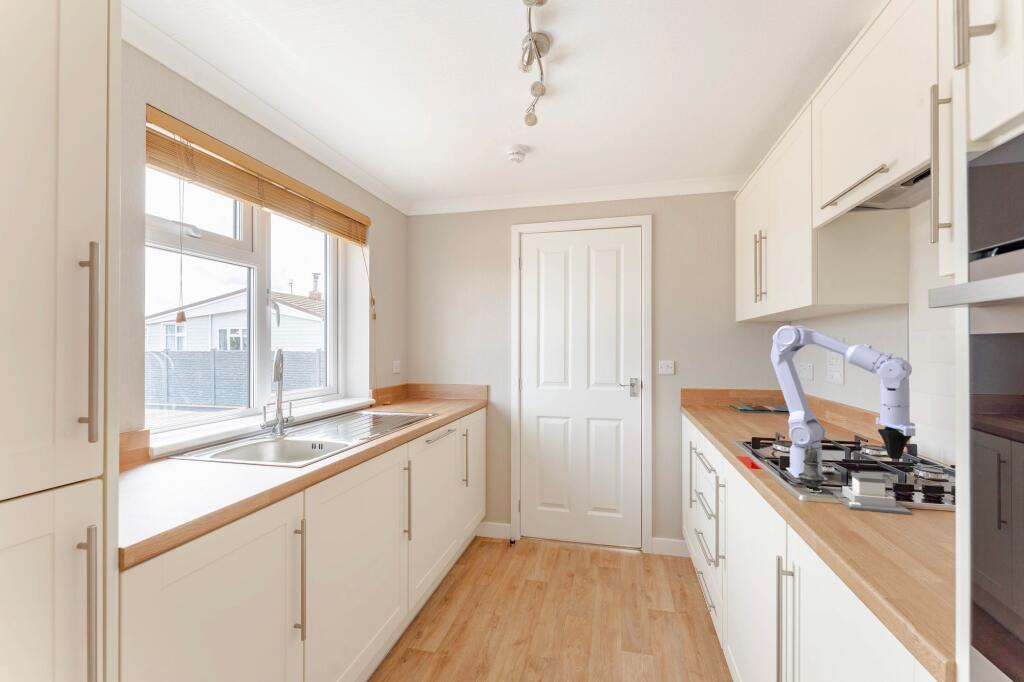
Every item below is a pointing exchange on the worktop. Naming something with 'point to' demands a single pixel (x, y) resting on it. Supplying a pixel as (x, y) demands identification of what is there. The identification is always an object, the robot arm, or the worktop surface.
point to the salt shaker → (811, 470)
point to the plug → (868, 484)
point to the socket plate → (870, 502)
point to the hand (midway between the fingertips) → (894, 458)
